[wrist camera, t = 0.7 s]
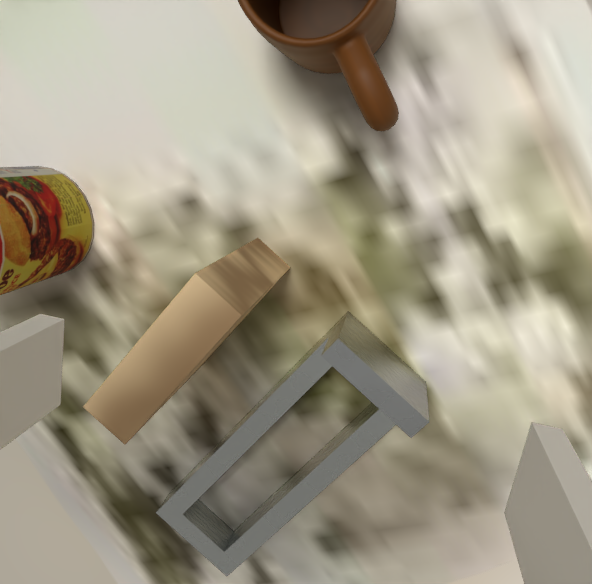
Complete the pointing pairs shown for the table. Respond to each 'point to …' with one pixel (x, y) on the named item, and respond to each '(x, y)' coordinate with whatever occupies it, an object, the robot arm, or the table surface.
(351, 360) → the track
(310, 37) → the mug
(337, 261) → the table surface
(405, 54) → the table surface
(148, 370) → the door panel
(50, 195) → the canned food
